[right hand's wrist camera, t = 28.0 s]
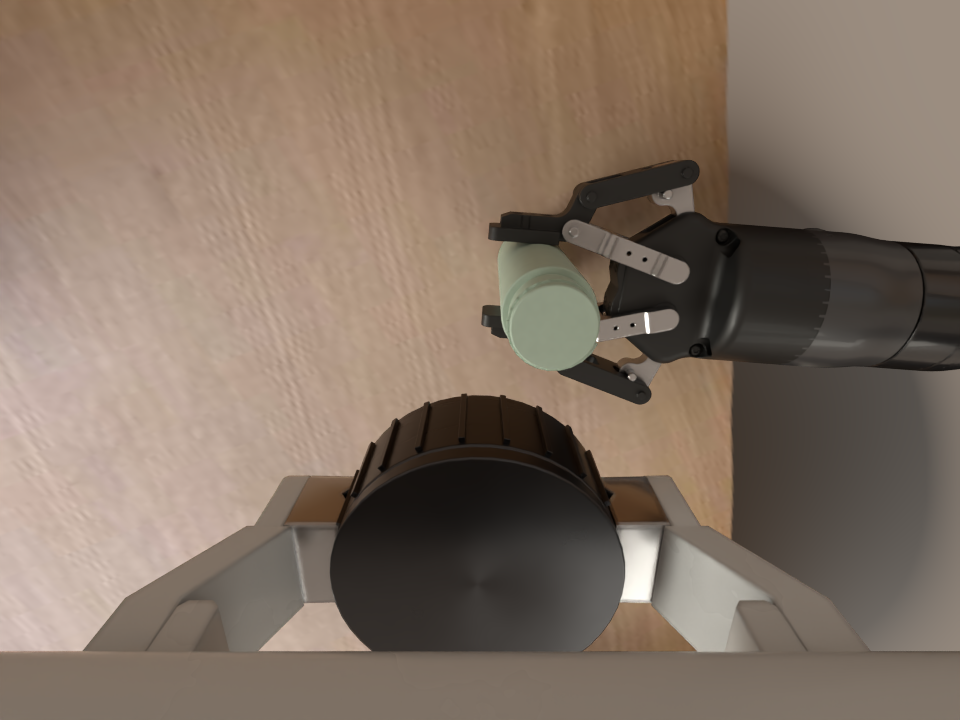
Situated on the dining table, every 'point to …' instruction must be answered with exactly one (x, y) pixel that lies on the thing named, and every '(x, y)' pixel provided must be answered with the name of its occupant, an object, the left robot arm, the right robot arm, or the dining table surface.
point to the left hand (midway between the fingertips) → (487, 274)
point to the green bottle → (546, 306)
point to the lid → (477, 534)
